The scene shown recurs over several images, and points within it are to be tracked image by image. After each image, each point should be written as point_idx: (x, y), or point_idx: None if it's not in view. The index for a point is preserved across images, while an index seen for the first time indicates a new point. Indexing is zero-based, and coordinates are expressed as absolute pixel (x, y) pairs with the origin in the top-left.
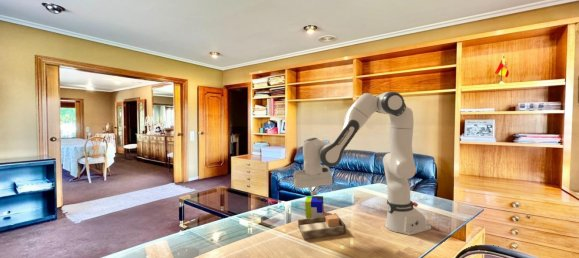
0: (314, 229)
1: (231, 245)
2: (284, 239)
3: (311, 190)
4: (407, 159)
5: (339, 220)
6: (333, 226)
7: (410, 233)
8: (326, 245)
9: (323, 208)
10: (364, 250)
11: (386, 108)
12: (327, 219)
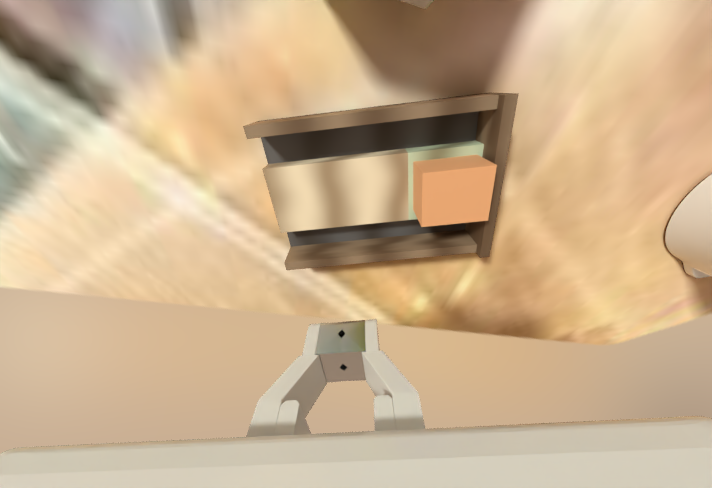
0: (340, 224)
1: (4, 251)
2: (212, 238)
3: (308, 408)
4: None
5: None
6: None
7: (699, 277)
8: (372, 292)
9: None
10: (476, 325)
11: None
12: (420, 213)
